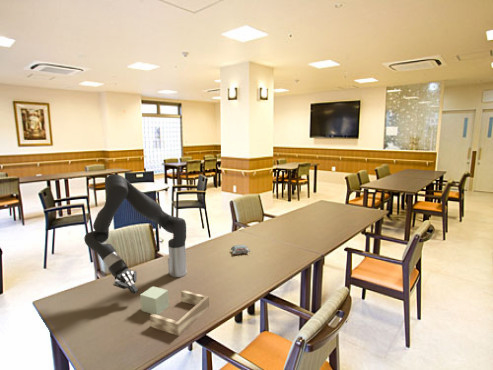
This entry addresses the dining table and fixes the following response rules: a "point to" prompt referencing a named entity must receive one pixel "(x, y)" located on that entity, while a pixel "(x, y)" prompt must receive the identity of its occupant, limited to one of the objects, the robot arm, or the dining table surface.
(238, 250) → the packaged food
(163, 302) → the sage block
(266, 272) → the dining table surface
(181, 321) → the birch corral
